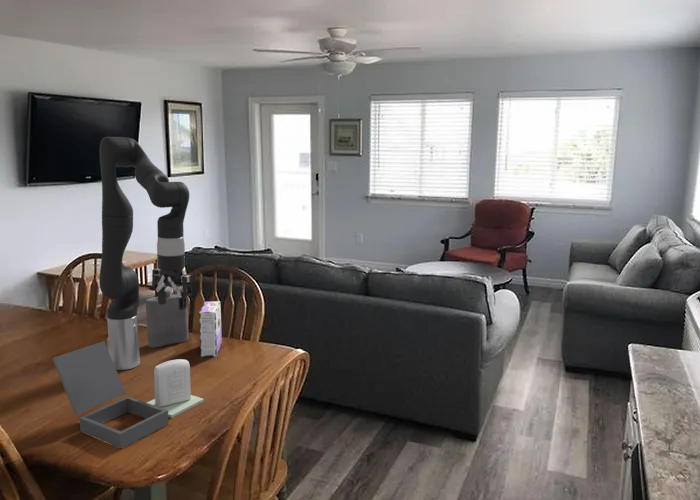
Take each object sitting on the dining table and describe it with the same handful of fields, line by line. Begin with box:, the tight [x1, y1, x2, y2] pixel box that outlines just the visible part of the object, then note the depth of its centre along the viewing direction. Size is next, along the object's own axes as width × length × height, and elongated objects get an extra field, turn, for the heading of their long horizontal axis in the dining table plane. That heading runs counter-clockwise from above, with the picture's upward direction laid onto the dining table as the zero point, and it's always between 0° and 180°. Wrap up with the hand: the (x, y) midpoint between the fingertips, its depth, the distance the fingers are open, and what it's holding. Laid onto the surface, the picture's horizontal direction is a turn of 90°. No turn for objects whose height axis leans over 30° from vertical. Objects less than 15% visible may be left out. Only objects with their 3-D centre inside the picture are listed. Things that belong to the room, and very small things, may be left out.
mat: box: [146, 394, 205, 419], centre depth 167 cm, size 12×12×1 cm
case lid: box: [52, 340, 126, 416], centre depth 158 cm, size 16×15×2 cm
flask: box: [145, 289, 190, 349], centre depth 215 cm, size 15×6×20 cm, turn 125°
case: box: [78, 396, 169, 449], centre depth 153 cm, size 16×15×4 cm
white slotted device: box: [153, 358, 192, 407], centre depth 166 cm, size 10×4×12 cm, turn 127°
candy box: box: [198, 300, 223, 358], centre depth 209 cm, size 14×6×16 cm, turn 5°
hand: (172, 306), depth 169 cm, fingers open, 8 cm apart
